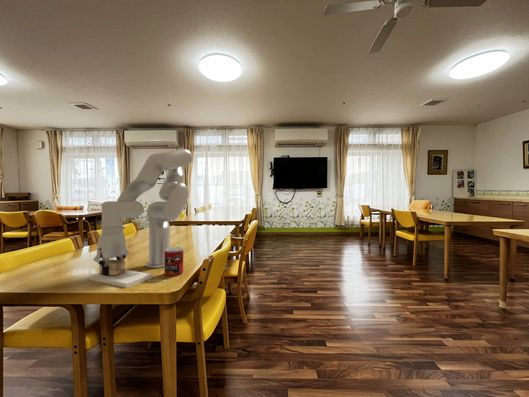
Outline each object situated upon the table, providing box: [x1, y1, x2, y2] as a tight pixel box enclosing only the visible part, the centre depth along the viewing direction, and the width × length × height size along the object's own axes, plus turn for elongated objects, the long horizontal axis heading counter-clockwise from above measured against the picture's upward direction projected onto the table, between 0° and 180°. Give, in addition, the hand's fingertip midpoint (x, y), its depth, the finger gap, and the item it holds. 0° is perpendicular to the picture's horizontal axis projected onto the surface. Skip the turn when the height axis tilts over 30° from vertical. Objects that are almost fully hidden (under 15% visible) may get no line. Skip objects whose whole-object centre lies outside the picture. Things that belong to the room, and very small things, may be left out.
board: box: [88, 269, 154, 288], centre depth 100 cm, size 12×22×2 cm, turn 67°
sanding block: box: [98, 258, 126, 277], centre depth 102 cm, size 5×9×5 cm, turn 67°
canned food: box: [164, 246, 184, 277], centre depth 107 cm, size 8×8×11 cm
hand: (112, 272), depth 102 cm, fingers closed on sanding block, 5 cm apart
